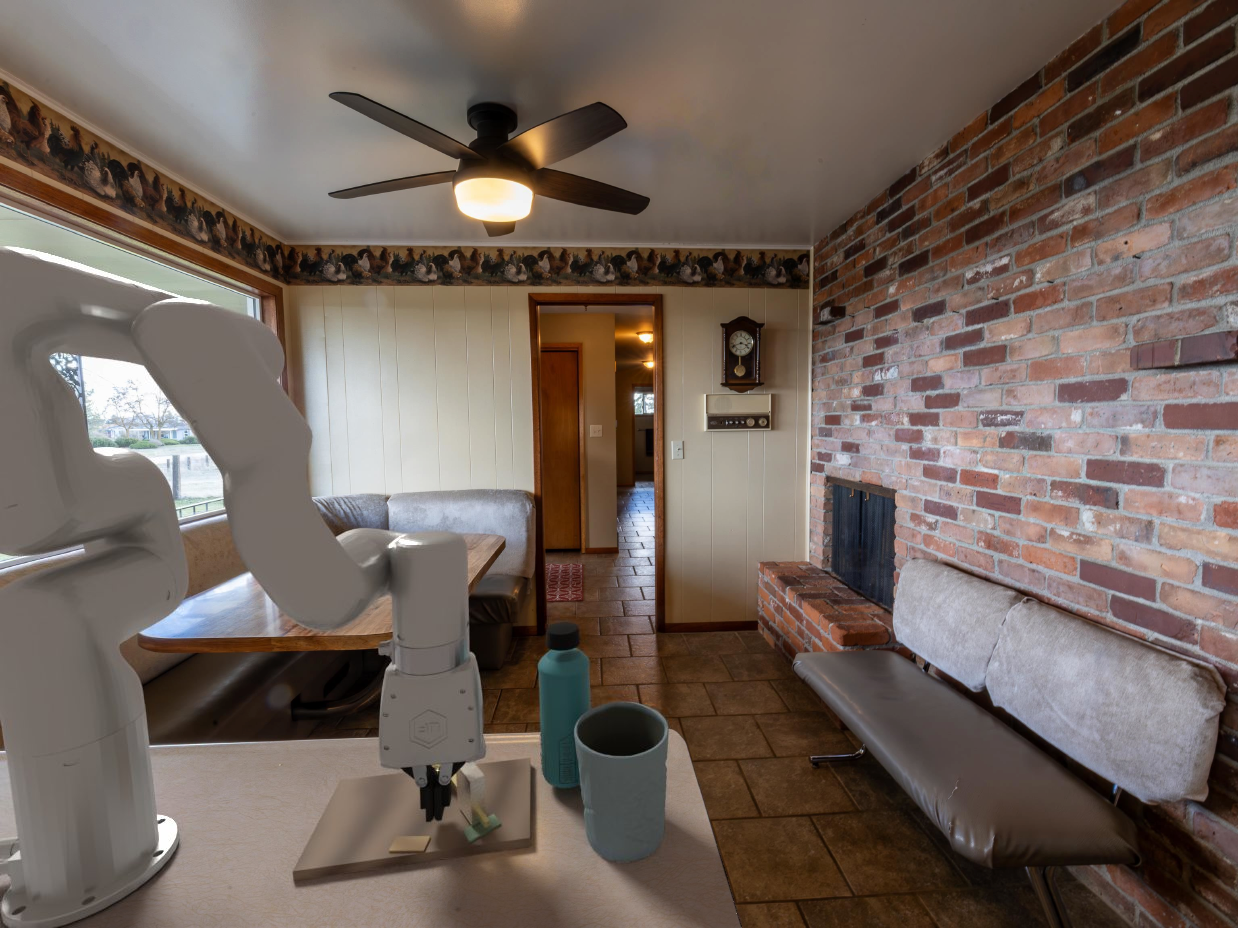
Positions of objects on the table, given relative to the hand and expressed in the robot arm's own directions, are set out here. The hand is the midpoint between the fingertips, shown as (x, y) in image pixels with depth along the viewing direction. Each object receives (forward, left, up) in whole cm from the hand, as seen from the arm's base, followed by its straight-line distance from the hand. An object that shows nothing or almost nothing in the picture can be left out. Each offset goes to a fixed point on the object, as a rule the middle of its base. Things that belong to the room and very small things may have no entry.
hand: (436, 811), depth 57 cm
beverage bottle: (+14, +5, -3) cm, 16 cm away
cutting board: (-2, +3, -3) cm, 4 cm away
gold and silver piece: (+2, +3, -1) cm, 4 cm away
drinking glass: (+20, -3, -3) cm, 20 cm away
